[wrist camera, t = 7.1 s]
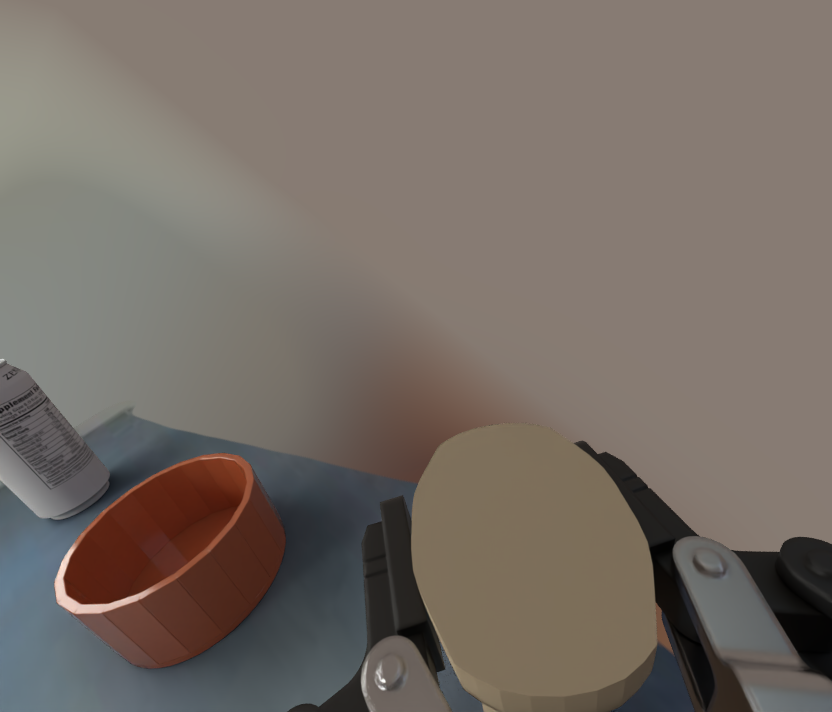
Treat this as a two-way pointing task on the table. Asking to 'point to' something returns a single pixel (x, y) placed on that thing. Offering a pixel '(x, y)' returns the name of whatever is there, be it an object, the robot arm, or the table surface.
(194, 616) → the holder
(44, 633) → the table surface
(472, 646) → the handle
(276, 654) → the table surface
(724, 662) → the robot arm
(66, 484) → the energy drink can
